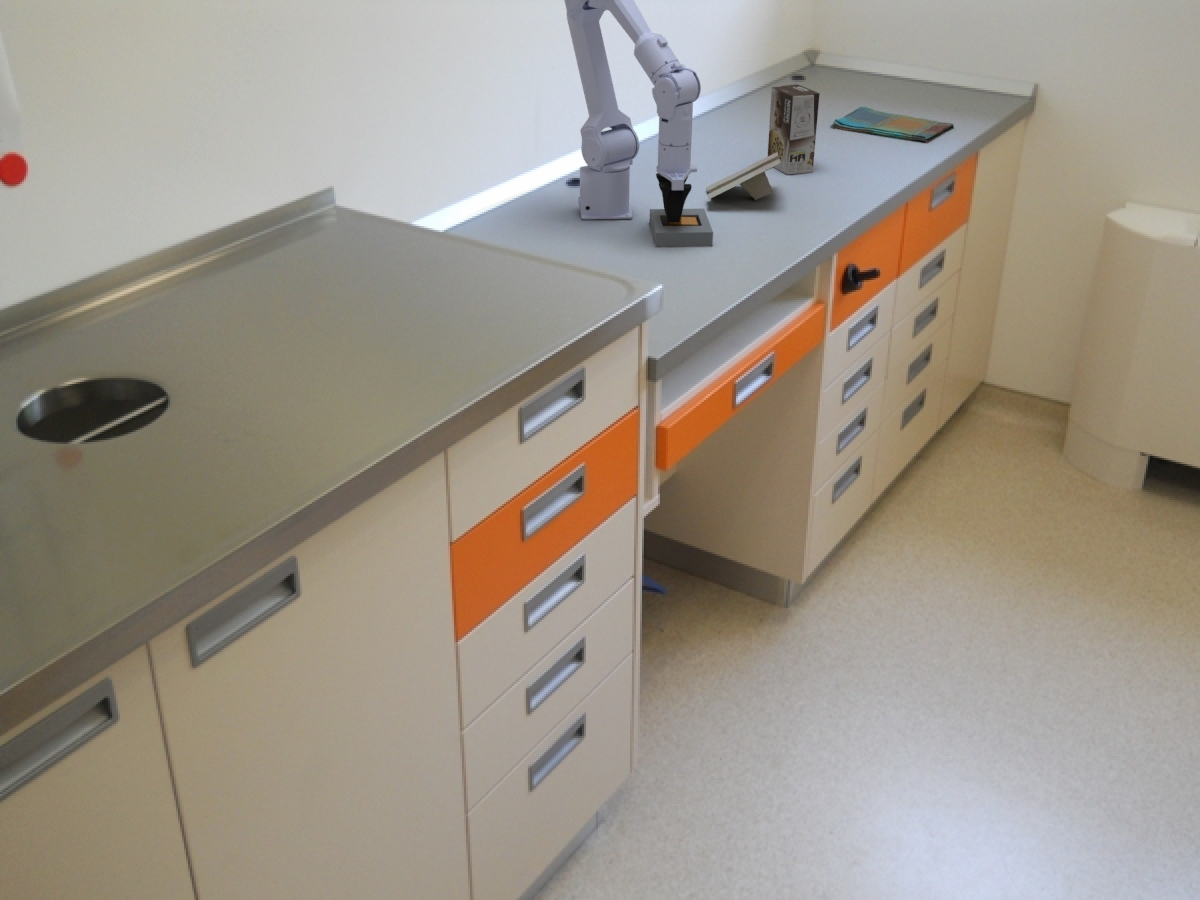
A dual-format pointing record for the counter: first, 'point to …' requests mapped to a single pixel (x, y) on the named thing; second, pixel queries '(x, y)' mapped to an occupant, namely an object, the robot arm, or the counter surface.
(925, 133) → the dish towel
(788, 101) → the coffee box
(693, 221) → the wooden step block
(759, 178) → the beige footed plank
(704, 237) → the well block
